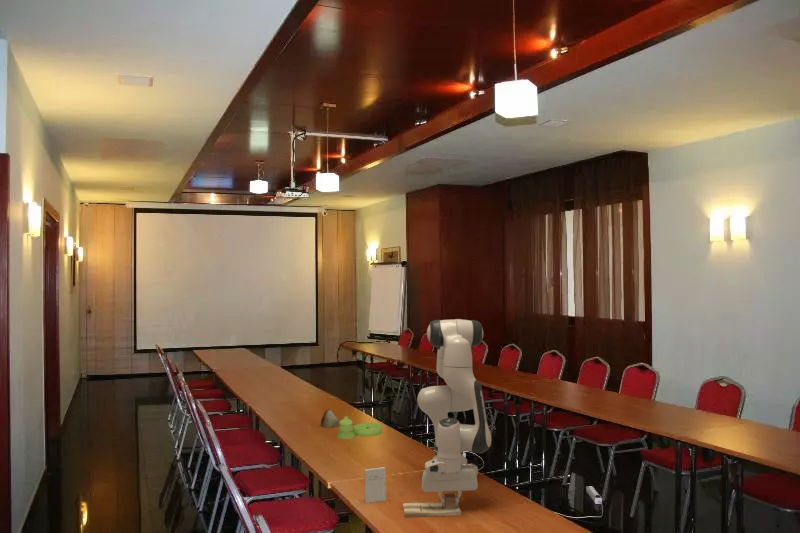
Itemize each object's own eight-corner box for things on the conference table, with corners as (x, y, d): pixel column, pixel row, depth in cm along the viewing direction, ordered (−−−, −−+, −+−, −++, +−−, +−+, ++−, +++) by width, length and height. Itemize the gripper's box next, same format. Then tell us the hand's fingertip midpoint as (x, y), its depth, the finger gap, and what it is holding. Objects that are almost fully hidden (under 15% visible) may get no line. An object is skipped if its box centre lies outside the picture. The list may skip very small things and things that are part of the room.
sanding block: (444, 504, 242) (444, 493, 242) (453, 504, 242) (453, 493, 242) (446, 509, 237) (445, 498, 237) (455, 509, 237) (455, 497, 237)
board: (403, 506, 244) (403, 503, 244) (456, 504, 245) (456, 501, 245) (404, 517, 233) (404, 513, 233) (461, 515, 234) (461, 511, 234)
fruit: (333, 427, 376) (333, 406, 376) (342, 430, 369) (342, 409, 369) (318, 430, 370) (317, 409, 370) (327, 433, 362) (327, 411, 362)
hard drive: (364, 502, 249) (364, 469, 249) (385, 499, 252) (384, 466, 252) (366, 503, 247) (365, 470, 248) (386, 500, 250) (386, 467, 251)
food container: (372, 433, 363) (372, 410, 363) (386, 438, 351) (386, 414, 351) (331, 439, 349) (331, 415, 349) (344, 445, 337) (344, 420, 337)
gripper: (476, 461, 243) (476, 498, 243) (420, 462, 242) (421, 500, 242) (479, 466, 237) (479, 504, 237) (422, 467, 236) (422, 506, 236)
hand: (449, 502), depth 239 cm, fingers closed on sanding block, 3 cm apart
